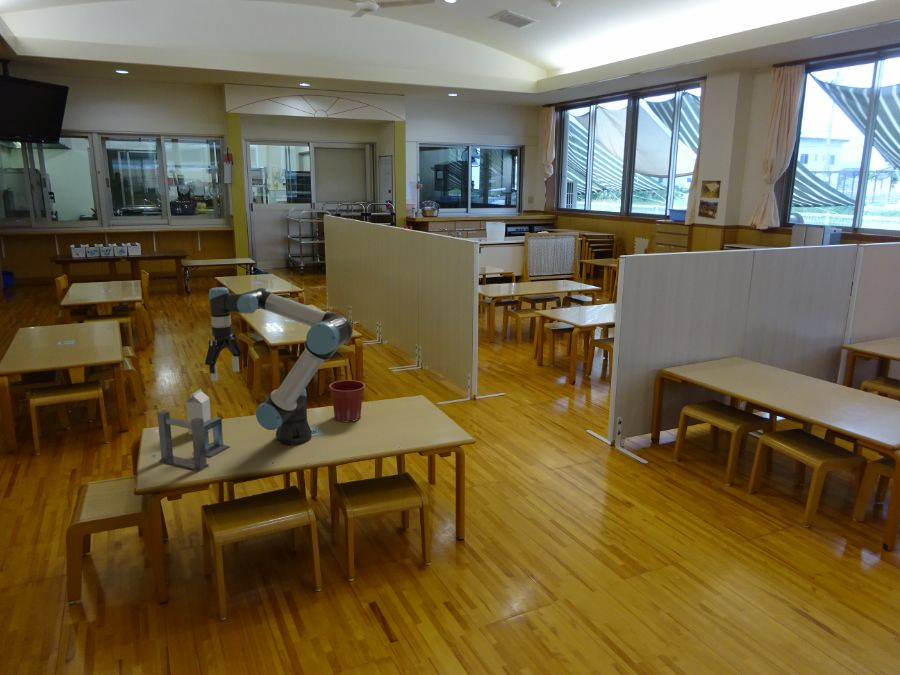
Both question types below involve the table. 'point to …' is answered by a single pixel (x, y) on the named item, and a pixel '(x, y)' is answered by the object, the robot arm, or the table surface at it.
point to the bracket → (217, 432)
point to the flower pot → (347, 399)
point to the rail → (166, 441)
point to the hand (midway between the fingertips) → (225, 376)
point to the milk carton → (198, 407)
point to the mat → (215, 449)
